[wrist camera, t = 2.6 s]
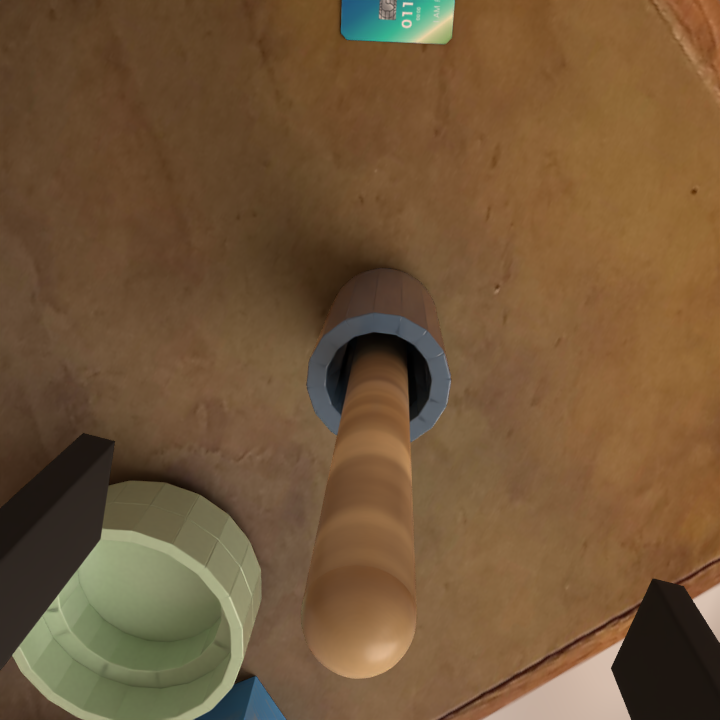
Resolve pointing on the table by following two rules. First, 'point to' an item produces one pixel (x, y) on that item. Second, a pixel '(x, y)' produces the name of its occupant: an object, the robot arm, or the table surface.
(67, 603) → the bowl
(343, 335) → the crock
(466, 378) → the table surface
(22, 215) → the table surface
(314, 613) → the stirring stick
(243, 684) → the perfume bottle
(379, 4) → the credit card
